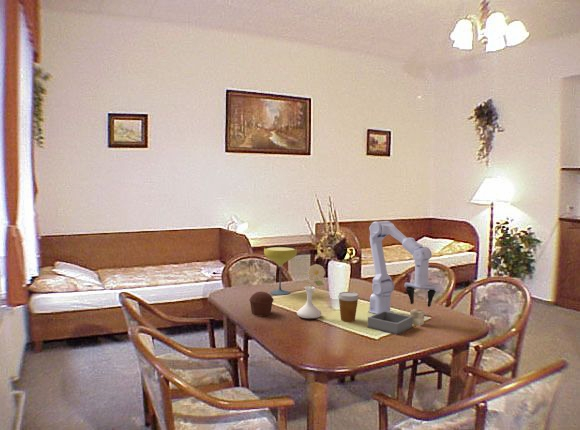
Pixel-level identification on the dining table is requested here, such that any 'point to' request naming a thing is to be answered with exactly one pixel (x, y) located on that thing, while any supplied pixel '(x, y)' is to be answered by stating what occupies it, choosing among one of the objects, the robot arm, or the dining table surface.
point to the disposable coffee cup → (348, 305)
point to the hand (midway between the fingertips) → (420, 305)
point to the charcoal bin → (390, 322)
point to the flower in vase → (309, 309)
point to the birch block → (417, 317)
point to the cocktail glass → (280, 260)
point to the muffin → (261, 303)
